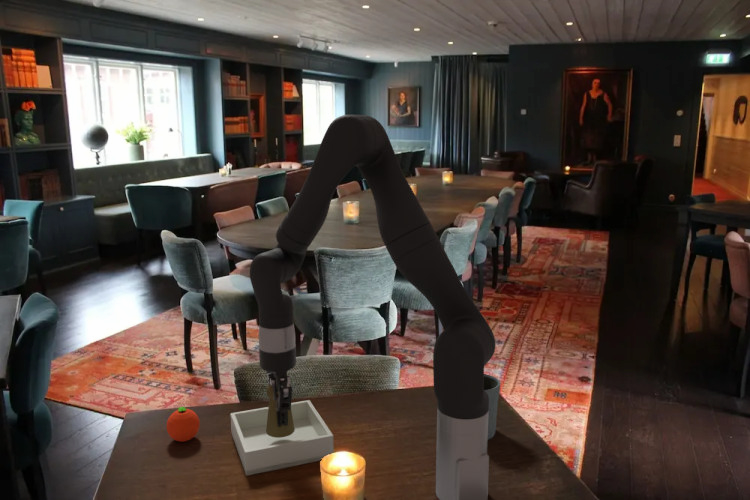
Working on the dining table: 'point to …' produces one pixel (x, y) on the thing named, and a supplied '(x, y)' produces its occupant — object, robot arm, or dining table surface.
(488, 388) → the grey round pot
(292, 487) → the dining table surface
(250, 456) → the serving bin
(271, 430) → the olive pepper mill
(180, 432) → the clementine
